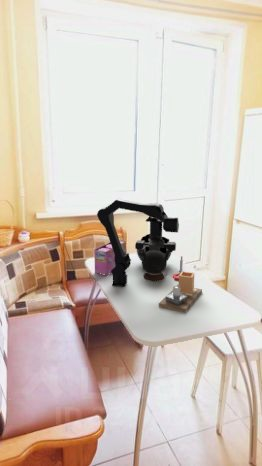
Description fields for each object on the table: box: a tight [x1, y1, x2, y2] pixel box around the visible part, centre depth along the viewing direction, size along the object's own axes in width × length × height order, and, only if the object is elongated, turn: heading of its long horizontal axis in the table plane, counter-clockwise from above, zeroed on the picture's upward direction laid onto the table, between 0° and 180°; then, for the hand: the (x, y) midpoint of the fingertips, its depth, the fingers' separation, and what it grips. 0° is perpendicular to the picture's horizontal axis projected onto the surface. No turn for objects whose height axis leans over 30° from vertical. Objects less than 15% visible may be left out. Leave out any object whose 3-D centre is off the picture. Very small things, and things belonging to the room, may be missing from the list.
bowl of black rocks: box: [136, 233, 172, 262], centre depth 190 cm, size 20×20×19 cm
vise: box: [165, 285, 187, 306], centre depth 144 cm, size 7×10×6 cm
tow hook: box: [172, 256, 184, 281], centre depth 173 cm, size 8×13×9 cm
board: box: [158, 284, 203, 314], centre depth 149 cm, size 23×12×2 cm, turn 152°
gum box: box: [93, 240, 127, 276], centre depth 187 cm, size 24×8×14 cm, turn 153°
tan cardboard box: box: [178, 270, 196, 294], centre depth 153 cm, size 6×6×8 cm
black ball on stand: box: [141, 250, 168, 282], centre depth 173 cm, size 13×13×15 cm
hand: (155, 262), depth 158 cm, fingers open, 9 cm apart
